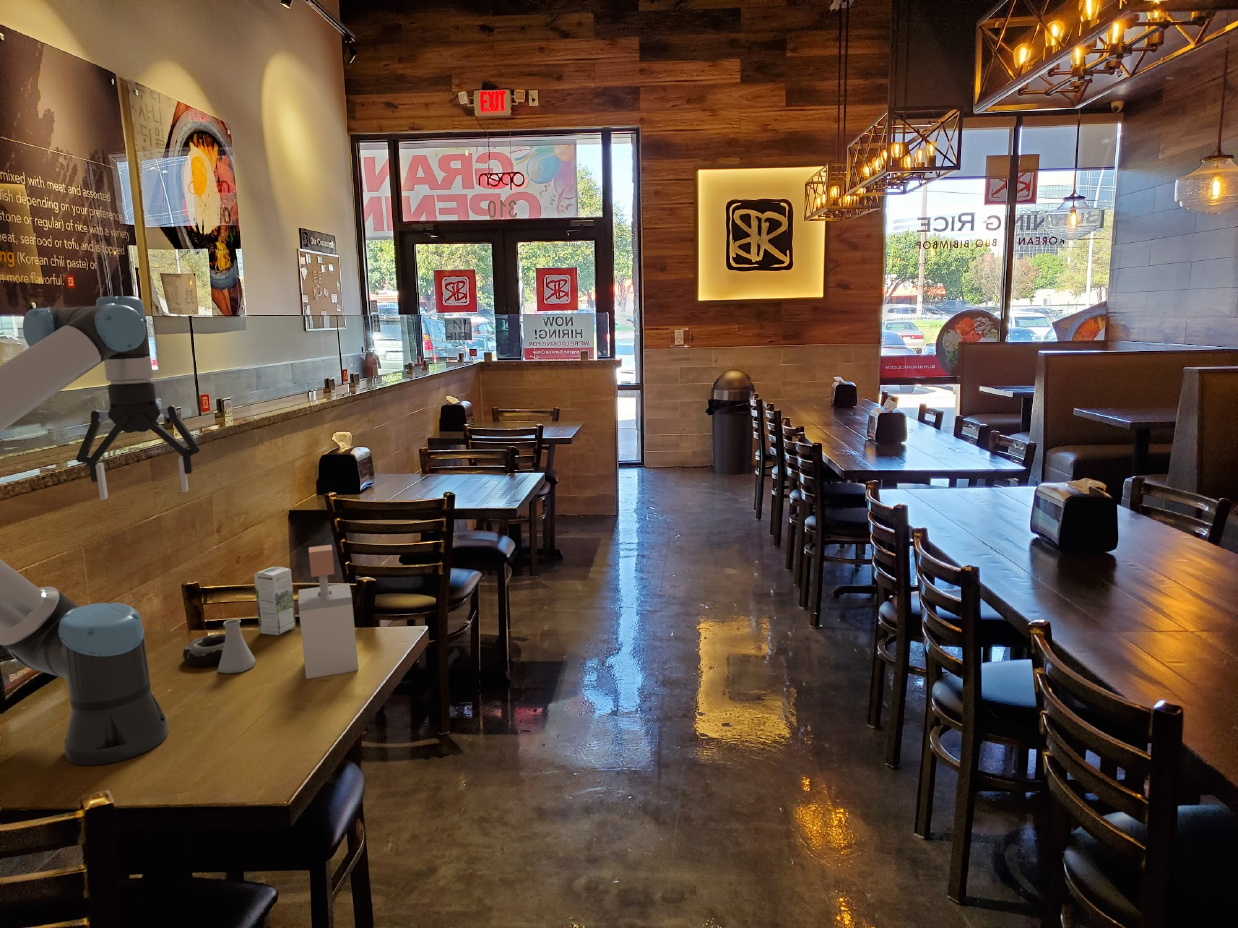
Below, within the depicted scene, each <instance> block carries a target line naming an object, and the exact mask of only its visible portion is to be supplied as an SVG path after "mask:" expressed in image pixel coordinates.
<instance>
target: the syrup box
mask: <svg viewBox="0 0 1238 928" xmlns="http://www.w3.org/2000/svg"><path fill="white" fill-rule="evenodd" d="M253 579H254V588H255V600H256V610H257V619H258V620H257V621H258V628H259V629H258V630H259V633H260V634H262V635H271V636H281V635H282V634H285V633H287V632H288V631H291V630H293V629H295V628H297V627H296V626H297V624H296V614H295V612H296V611H295V603H294V601H295V600H294V589H293V580H292V569H291V568H287V567H284V566H283V567H282V566H271V567H268V568H266V569H263V570H261V571H260V570H259V571H258V572H255V573H254V574H253Z"/></svg>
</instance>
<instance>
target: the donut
mask: <svg viewBox="0 0 1238 928" xmlns="http://www.w3.org/2000/svg"><path fill="white" fill-rule="evenodd" d="M225 636H226V633H214V634H209V635H204V636H202V637H198V638H196V639H194V640H193V641H191V642H189V643H188V644H187V645H185V646H184V649H183V651H182V658H183V659H184V661H185V663H186V664H188V665H190V666H194V667H213V666H217V665H218V666H219V663H220V660H221V656H222V652H223V648H224V644H225Z"/></svg>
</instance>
